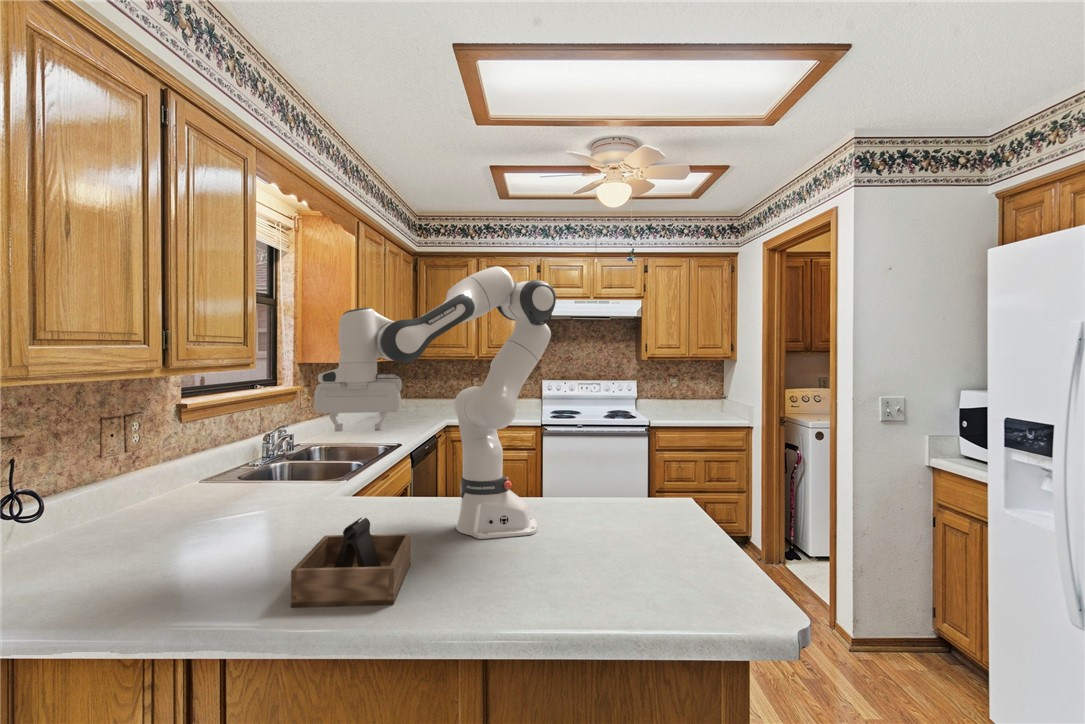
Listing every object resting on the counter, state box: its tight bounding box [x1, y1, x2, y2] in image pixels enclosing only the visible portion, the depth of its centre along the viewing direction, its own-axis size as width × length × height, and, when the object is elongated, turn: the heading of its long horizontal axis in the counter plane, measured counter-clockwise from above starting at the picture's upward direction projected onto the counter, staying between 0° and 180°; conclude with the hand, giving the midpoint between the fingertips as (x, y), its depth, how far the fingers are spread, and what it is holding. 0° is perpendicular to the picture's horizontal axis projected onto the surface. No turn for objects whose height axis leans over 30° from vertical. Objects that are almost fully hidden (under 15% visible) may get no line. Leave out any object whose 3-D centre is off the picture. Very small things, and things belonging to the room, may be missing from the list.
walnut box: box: [290, 533, 412, 608], centre depth 108 cm, size 19×19×7 cm
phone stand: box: [334, 517, 381, 568], centre depth 108 cm, size 9×6×12 cm, turn 83°
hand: (358, 430), depth 126 cm, fingers open, 8 cm apart
